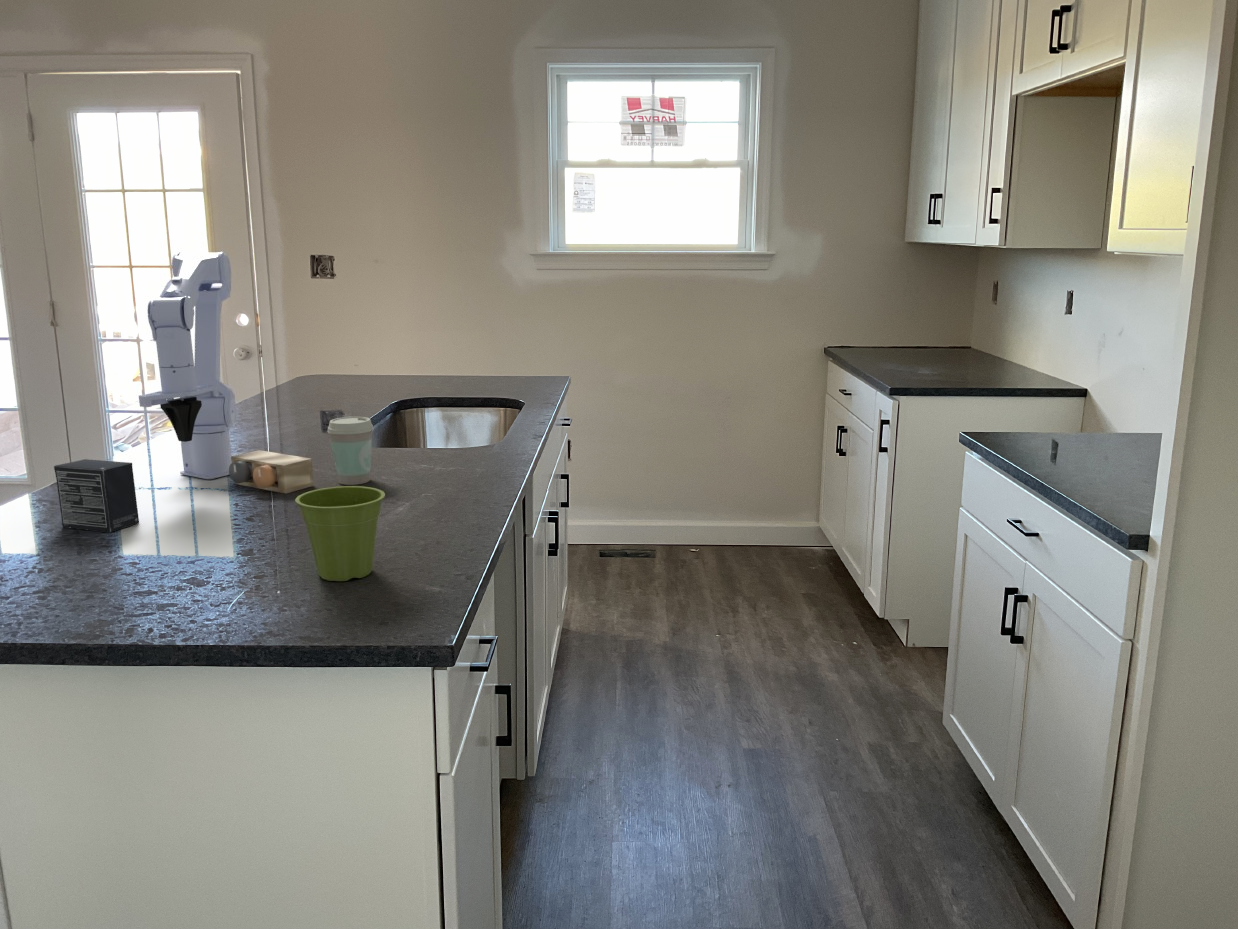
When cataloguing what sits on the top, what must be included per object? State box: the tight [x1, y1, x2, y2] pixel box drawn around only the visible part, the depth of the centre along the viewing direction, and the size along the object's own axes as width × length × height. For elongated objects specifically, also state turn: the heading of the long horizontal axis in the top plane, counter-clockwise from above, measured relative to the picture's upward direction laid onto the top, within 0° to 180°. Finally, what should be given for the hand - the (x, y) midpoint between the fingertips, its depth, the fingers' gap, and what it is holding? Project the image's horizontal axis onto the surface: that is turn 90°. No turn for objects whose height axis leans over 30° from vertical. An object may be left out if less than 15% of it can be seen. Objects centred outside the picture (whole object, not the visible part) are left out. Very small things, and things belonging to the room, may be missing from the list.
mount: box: [231, 449, 314, 494], centre depth 184 cm, size 15×6×5 cm, turn 58°
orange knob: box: [253, 465, 278, 489], centre depth 180 cm, size 7×4×4 cm, turn 148°
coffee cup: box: [327, 416, 375, 486], centre depth 185 cm, size 8×8×12 cm
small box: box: [53, 458, 140, 533], centre depth 158 cm, size 11×6×10 cm, turn 71°
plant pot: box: [294, 485, 386, 582], centre depth 134 cm, size 12×12×11 cm
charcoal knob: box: [228, 461, 253, 483], centre depth 184 cm, size 7×4×4 cm, turn 148°
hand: (185, 440), depth 175 cm, fingers closed
